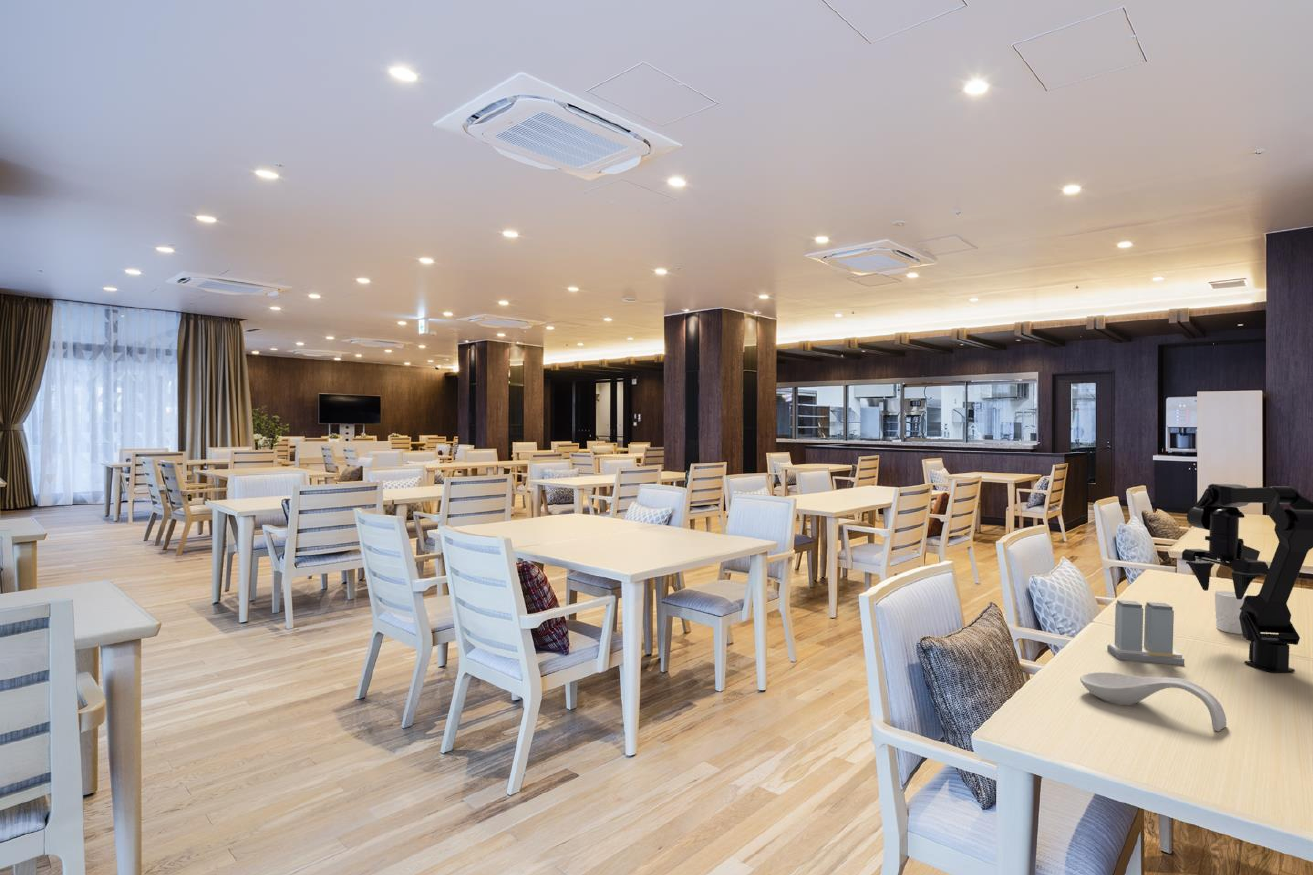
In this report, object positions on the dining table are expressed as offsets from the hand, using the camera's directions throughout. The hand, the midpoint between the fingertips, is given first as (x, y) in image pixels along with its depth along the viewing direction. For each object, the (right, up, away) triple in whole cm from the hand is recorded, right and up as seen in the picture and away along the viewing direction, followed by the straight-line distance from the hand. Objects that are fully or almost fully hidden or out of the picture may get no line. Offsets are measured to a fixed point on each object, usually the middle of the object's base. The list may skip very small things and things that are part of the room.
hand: (1222, 594), depth 178 cm
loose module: (-24, -11, -11) cm, 29 cm away
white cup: (+14, -13, +14) cm, 24 cm away
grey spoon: (-47, -14, -41) cm, 64 cm away
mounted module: (-30, -11, -9) cm, 33 cm away
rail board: (-27, -13, -10) cm, 31 cm away
